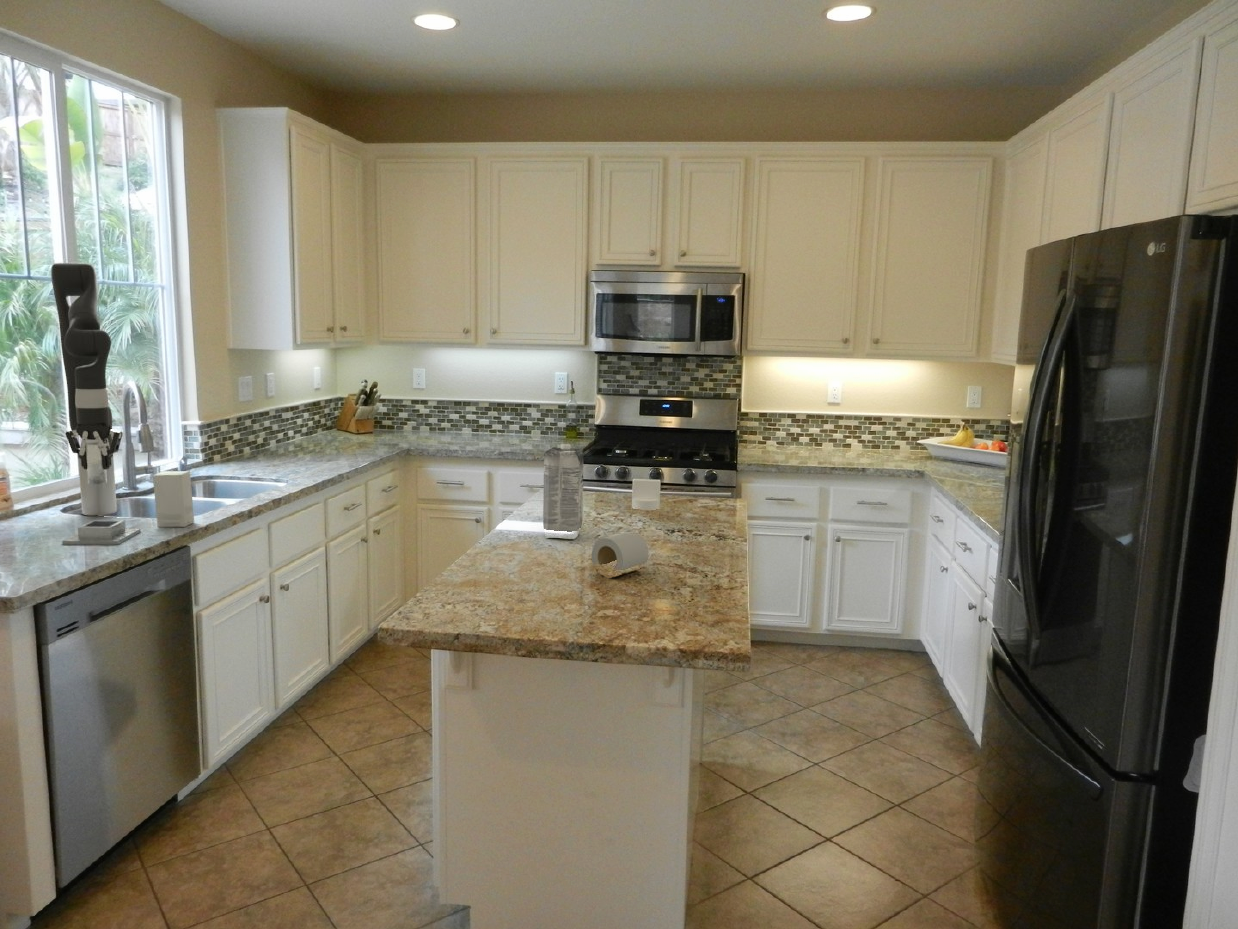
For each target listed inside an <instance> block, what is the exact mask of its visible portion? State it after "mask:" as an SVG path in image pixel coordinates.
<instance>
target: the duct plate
mask: <svg viewBox="0 0 1238 929" xmlns="http://www.w3.org/2000/svg"><path fill="white" fill-rule="evenodd" d="M139 534H141V528H126V520H100V519H99V520H98V519H97V520H95V519H94V520H90V521H88V522H86V523H84V524H82V525H80V526H78V527H77V533H75V534H73V535H72V536H69V537H67V538H66V539H63V540H62V541H61V544H62V546H63V545H65V546H69V545H71V546H75V545H77V546H78V545H79V546H81V545H83V546H85V545H86V546H88V545H89V546H90V545H91V546H93V545H94V546H95V545H97V546H98V545H101V546H105V545H107V546H109V545H110V546H113V545H114V546H115V545H120V544H122V543H124V542H126V541H127V540H129V539H132V538H133V537H135V536H137V535H139Z"/></svg>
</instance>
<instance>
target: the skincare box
mask: <svg viewBox="0 0 1238 929" xmlns="http://www.w3.org/2000/svg"><path fill="white" fill-rule="evenodd" d="M152 481H153V491H154V492H153V493H154V503H155V513H156V523H157V527H158V528H180V527H181V528H185V527H188V526H190V525H191V524H193V523H194V522H195V515H194V503H193V494H192V493H193V492H192V482H191V481H192V479H191V471H190V470H189V471H188V470H187V471H186V470H185V471H184V470H183V471H180V470H178V471H176V470H175V471H174V470H173V471H171V470H170V471H169V470H168V471H167V470H164V471H163V470H162V471H160V472H157V473H156V474H153V475H152Z"/></svg>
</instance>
